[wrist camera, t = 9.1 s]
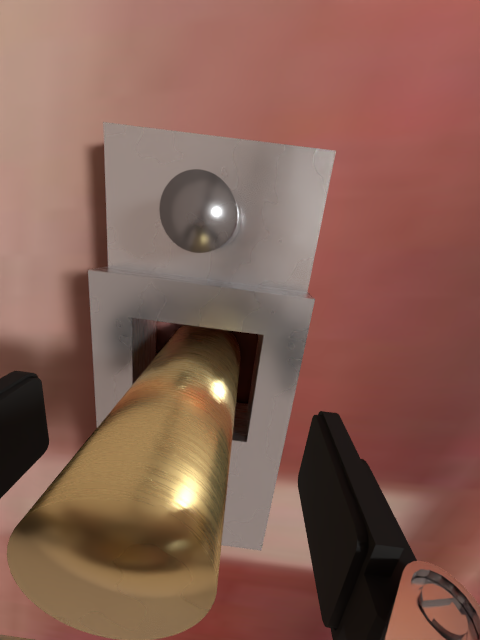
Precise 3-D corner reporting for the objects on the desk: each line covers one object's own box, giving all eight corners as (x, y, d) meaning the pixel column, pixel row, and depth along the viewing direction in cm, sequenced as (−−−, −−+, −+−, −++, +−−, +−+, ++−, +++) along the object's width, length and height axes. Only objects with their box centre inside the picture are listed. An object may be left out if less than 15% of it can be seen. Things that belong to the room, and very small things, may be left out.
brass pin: (170, 315, 14) (-10, 483, 4) (245, 325, 14) (227, 516, 4) (167, 381, 15) (21, 625, 6) (236, 390, 15) (207, 652, 6)
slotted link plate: (122, 136, 11) (44, 76, 7) (325, 161, 11) (369, 115, 7) (126, 412, 16) (79, 477, 12) (272, 432, 16) (280, 504, 12)
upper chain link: (123, 263, 13) (24, 282, 7) (301, 285, 13) (338, 322, 7) (126, 481, 18) (66, 598, 12) (259, 499, 17) (263, 626, 12)
